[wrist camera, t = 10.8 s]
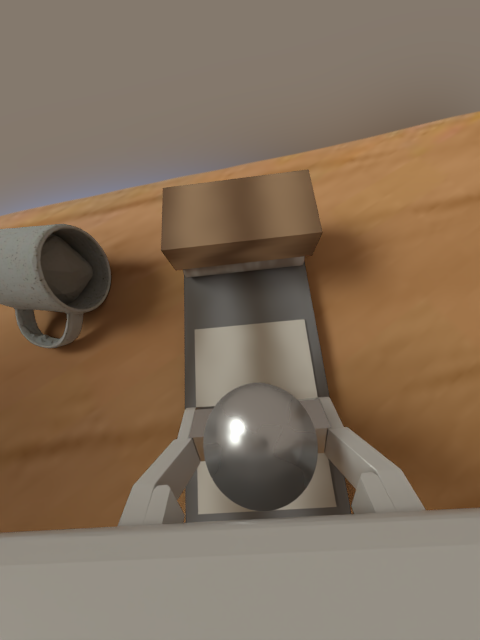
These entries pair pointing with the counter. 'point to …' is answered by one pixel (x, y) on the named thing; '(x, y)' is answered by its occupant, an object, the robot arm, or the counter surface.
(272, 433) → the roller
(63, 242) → the ceramic mug
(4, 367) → the counter surface
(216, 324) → the grey board with block
